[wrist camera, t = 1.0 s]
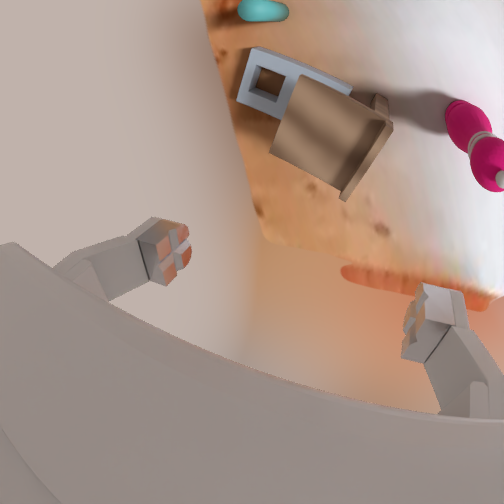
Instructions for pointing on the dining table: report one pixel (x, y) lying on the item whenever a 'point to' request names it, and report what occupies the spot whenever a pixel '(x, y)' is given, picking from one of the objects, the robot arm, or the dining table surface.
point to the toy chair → (331, 134)
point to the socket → (291, 71)
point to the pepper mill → (477, 143)
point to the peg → (262, 10)
